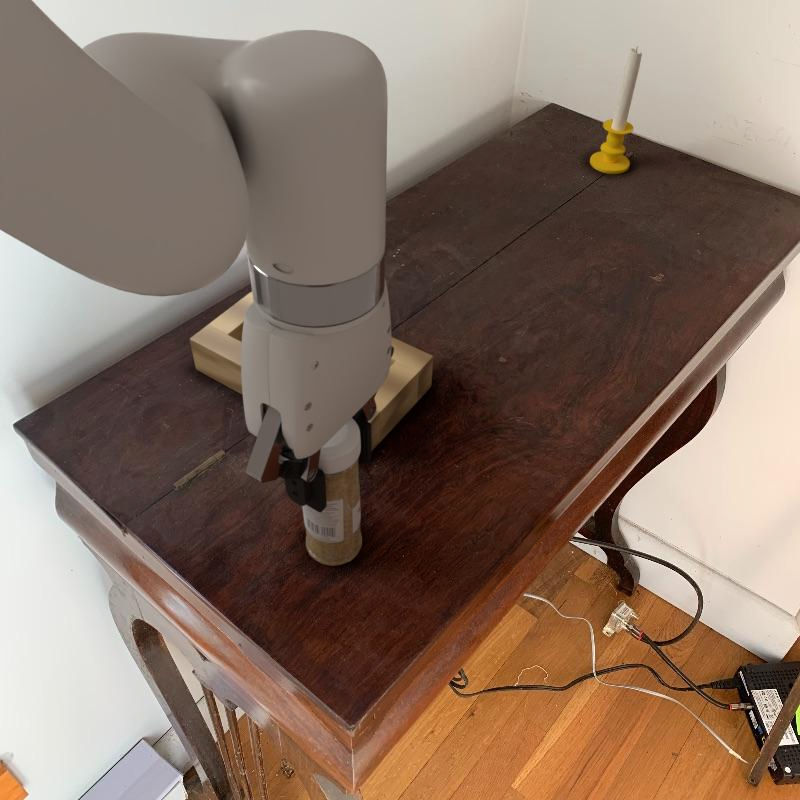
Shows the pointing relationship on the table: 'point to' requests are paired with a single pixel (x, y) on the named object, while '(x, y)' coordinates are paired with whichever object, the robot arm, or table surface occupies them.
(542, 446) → the table surface
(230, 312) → the holder
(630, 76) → the candle
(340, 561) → the sprinkles bottle
